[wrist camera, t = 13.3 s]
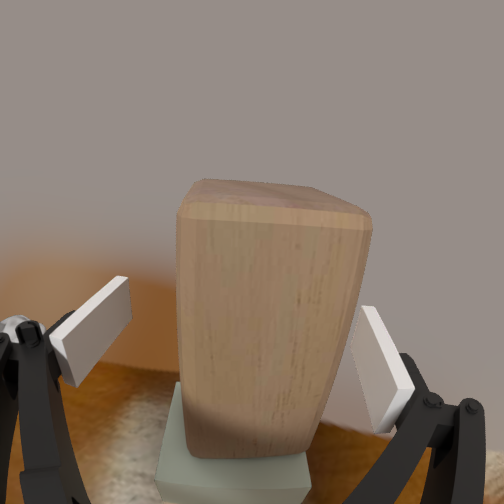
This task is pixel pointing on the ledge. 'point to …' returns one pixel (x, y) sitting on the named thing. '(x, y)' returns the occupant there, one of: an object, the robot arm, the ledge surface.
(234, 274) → the block
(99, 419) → the ledge surface
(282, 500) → the tower top
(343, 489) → the ledge surface
